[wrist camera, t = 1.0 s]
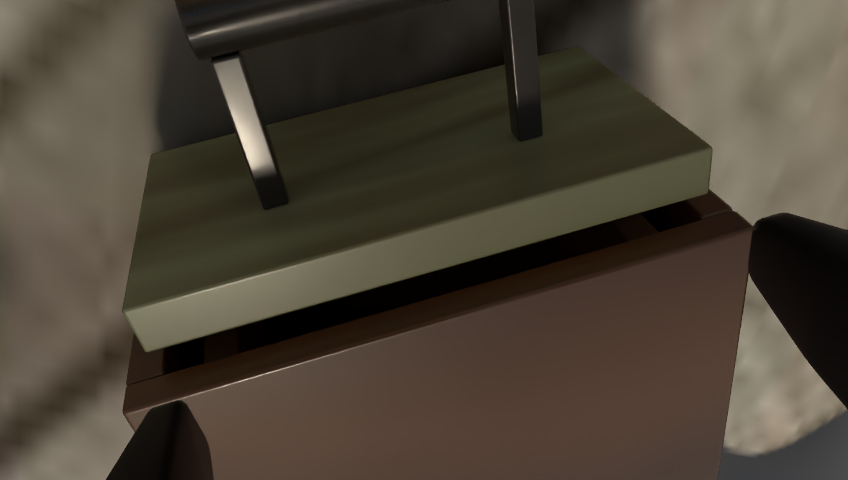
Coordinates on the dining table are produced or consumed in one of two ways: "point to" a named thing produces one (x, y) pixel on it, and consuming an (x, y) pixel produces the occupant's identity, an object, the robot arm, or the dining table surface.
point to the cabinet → (493, 373)
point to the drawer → (389, 183)
